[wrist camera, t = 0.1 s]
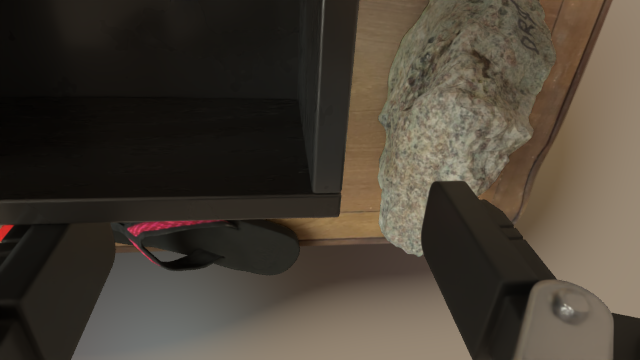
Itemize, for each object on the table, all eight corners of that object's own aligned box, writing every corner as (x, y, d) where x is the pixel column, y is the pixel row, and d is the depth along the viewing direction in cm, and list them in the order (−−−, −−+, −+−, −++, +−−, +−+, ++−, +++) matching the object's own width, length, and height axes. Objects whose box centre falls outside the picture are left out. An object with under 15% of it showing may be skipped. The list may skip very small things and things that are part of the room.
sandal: (79, 149, 42) (55, 184, 38) (314, 219, 50) (317, 255, 45) (68, 218, 47) (45, 256, 42) (283, 272, 55) (283, 309, 50)
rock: (667, 141, 29) (500, 199, 24) (500, 232, 46) (379, 278, 40) (514, -61, 36) (356, -52, 30) (416, 81, 52) (303, 104, 47)
